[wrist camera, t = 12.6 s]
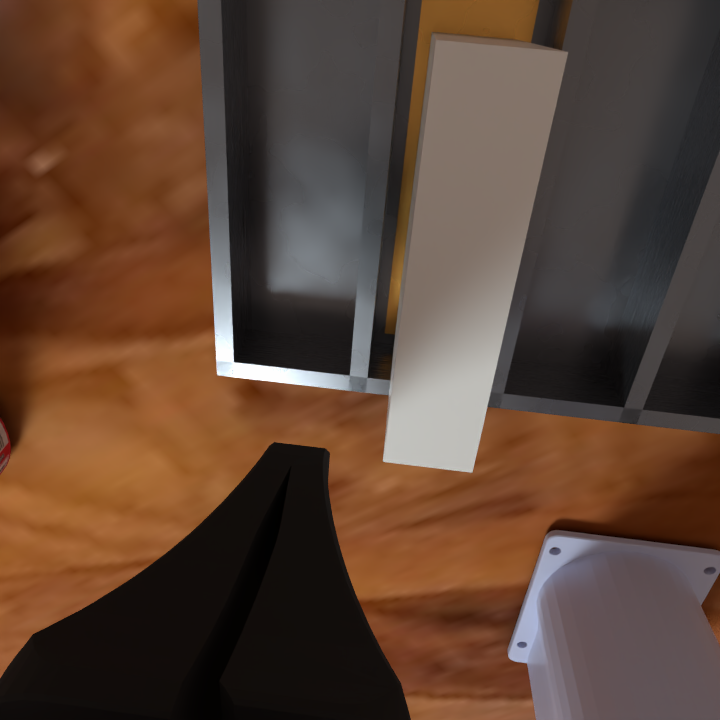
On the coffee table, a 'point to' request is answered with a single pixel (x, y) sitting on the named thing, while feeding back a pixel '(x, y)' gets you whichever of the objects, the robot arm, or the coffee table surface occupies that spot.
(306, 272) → the rack
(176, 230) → the coffee table surface
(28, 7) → the coffee table surface
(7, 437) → the soda can
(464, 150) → the panel
